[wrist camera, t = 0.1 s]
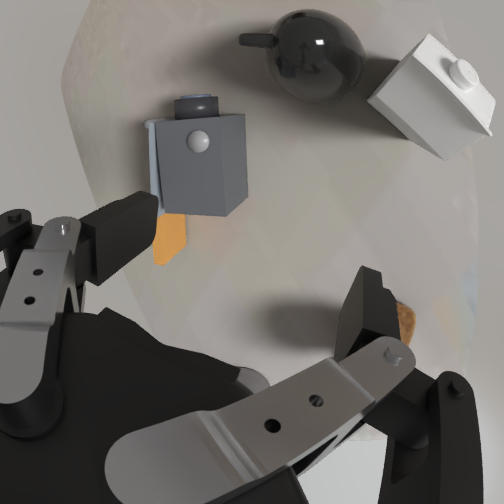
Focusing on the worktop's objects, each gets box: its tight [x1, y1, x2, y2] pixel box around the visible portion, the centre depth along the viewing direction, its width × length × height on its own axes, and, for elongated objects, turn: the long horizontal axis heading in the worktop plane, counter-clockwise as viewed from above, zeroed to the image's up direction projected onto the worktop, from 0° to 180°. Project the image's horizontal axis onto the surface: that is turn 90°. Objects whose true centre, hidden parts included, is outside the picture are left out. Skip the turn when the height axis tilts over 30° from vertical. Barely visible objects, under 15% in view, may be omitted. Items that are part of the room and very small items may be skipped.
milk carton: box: [367, 34, 496, 161], centre depth 23 cm, size 7×7×19 cm
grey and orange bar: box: [143, 117, 186, 266], centre depth 41 cm, size 19×2×7 cm, turn 177°
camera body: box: [155, 94, 248, 217], centre depth 37 cm, size 14×8×8 cm, turn 2°
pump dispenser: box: [239, 9, 365, 103], centre depth 26 cm, size 10×10×15 cm
